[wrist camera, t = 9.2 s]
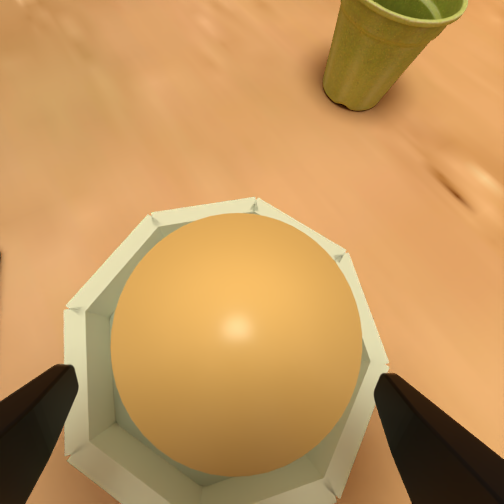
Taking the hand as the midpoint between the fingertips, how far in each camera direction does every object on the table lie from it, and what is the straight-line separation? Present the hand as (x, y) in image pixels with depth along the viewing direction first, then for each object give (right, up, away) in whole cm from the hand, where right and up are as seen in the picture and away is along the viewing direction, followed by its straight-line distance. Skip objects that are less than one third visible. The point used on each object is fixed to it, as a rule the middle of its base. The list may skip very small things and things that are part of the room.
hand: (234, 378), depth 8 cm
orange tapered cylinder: (-1, -2, +9) cm, 9 cm away
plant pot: (+11, +20, +19) cm, 30 cm away
